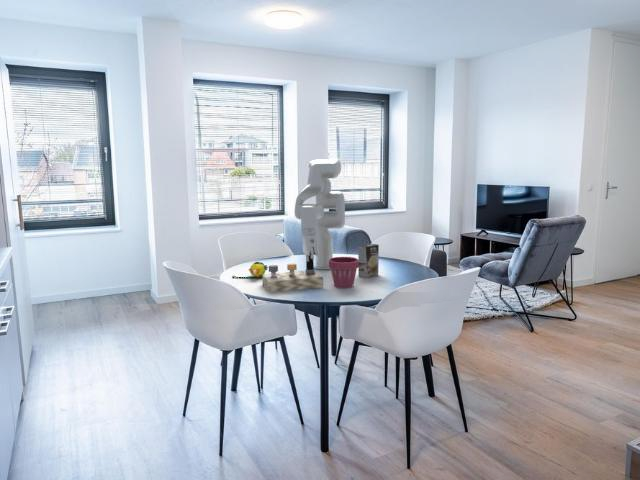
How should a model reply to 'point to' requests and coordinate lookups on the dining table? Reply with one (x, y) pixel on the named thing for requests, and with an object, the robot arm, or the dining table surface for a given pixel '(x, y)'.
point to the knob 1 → (273, 270)
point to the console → (292, 281)
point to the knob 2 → (310, 272)
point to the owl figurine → (257, 269)
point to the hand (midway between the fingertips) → (310, 269)
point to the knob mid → (291, 268)
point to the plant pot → (343, 271)
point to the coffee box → (368, 260)
